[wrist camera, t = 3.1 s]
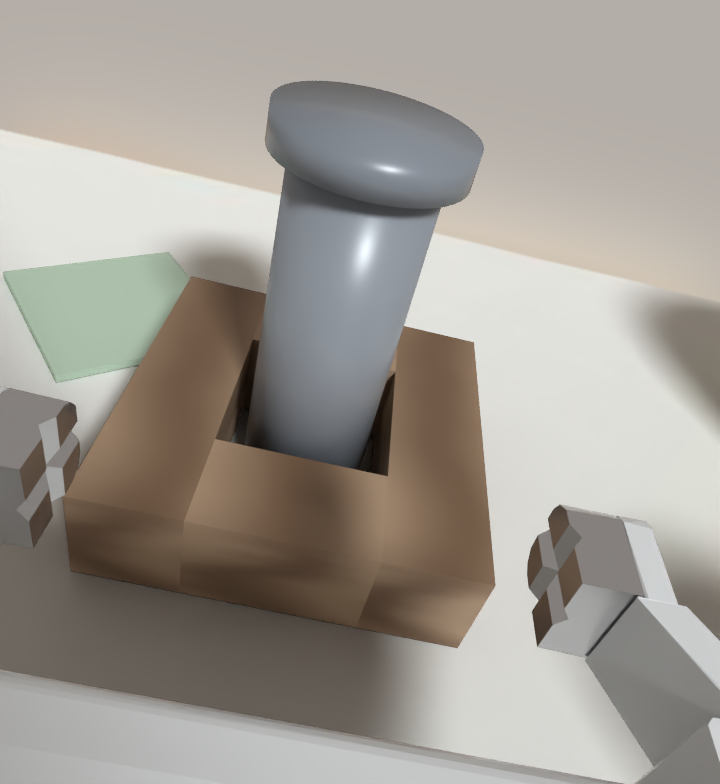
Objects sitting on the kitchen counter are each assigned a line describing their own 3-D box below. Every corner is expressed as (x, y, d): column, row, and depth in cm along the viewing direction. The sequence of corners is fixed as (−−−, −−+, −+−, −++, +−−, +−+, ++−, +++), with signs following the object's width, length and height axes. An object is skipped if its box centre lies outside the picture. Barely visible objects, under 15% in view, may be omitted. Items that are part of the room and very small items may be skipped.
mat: (4, 278, 34) (3, 271, 34) (168, 258, 39) (168, 251, 39) (56, 382, 30) (55, 375, 29) (236, 344, 35) (237, 338, 34)
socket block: (70, 570, 23) (62, 496, 20) (187, 343, 34) (191, 276, 31) (457, 648, 24) (495, 585, 21) (449, 402, 35) (473, 342, 32)
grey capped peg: (199, 441, 29) (230, 77, 19) (321, 405, 32) (398, 83, 23) (270, 551, 25) (351, 172, 16) (398, 497, 29) (527, 161, 19)
